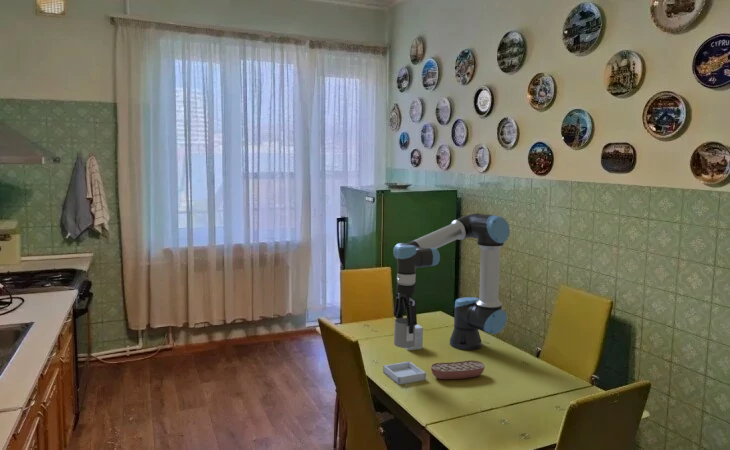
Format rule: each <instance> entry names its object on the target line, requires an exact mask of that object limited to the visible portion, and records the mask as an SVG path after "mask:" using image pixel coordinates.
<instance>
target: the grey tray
mask: <svg viewBox="0 0 730 450" xmlns="http://www.w3.org/2000/svg"><path fill="white" fill-rule="evenodd" d="M382 367H383V368H382V372H383V374H384V375H386V376H387V377H388V378H389V379H391V381H393V383H395V384H397V386H399V385H404V384H410V383H415V382H422V381H425V380H426V378H427V377H426V376H427V372H425V371H424V370H423V369H421V368H420V367H418V366H417V365H415V364H414V363H412V362H411V361H410V360H409V361H403V362H398V363H397V362H396V363H392V364H384V365H383V366H382Z"/></svg>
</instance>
